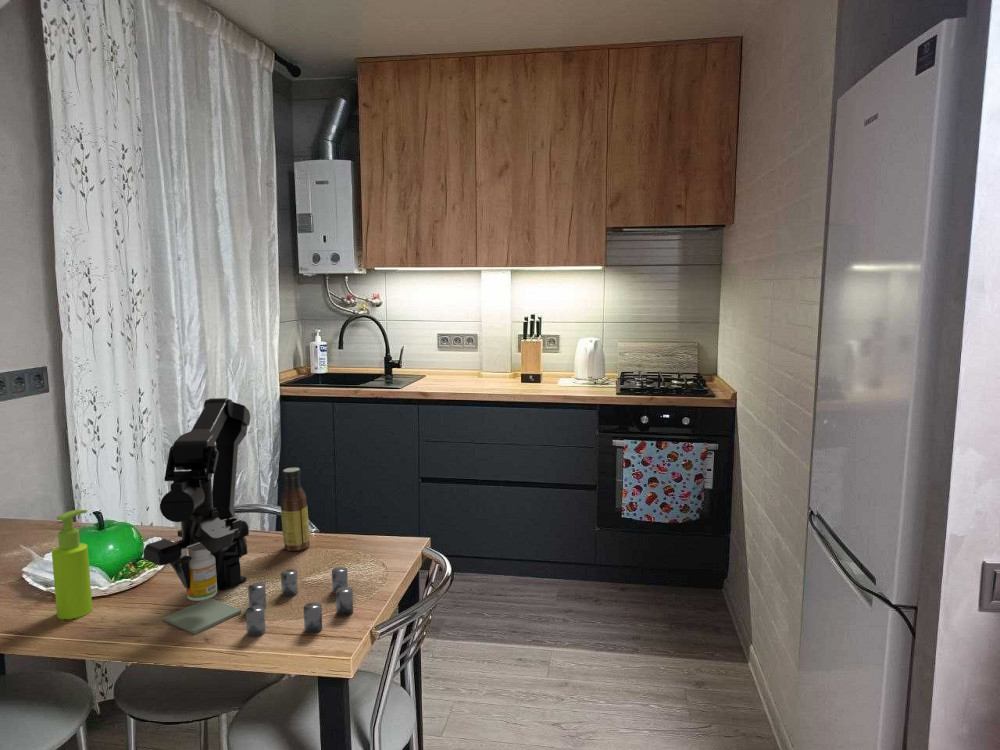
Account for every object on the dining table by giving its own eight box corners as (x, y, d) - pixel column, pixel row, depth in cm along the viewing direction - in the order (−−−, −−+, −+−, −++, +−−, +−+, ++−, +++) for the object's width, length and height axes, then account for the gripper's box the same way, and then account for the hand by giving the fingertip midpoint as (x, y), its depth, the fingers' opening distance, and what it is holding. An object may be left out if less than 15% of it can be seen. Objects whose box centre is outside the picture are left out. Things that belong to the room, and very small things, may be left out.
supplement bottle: (187, 591, 132) (185, 543, 131) (217, 587, 134) (215, 540, 133) (185, 603, 127) (182, 553, 126) (216, 598, 129) (214, 549, 128)
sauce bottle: (302, 541, 171) (299, 464, 168) (314, 547, 166) (311, 468, 164) (278, 547, 166) (274, 468, 164) (289, 554, 162) (286, 473, 159)
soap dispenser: (103, 604, 136) (96, 508, 134) (75, 620, 129) (67, 519, 127) (78, 602, 137) (70, 506, 135) (49, 618, 131) (41, 517, 128)
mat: (163, 620, 130) (163, 617, 129) (210, 600, 138) (210, 597, 138) (194, 634, 124) (194, 631, 124) (241, 612, 132) (241, 609, 132)
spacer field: (216, 622, 129) (215, 600, 128) (314, 577, 149) (313, 558, 148) (284, 651, 118) (283, 626, 118) (379, 598, 138) (378, 577, 138)
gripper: (174, 526, 116) (180, 612, 118) (265, 498, 132) (268, 574, 134) (139, 515, 122) (144, 597, 124) (229, 489, 138) (233, 562, 140)
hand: (201, 582), depth 130 cm, fingers closed on supplement bottle, 5 cm apart
